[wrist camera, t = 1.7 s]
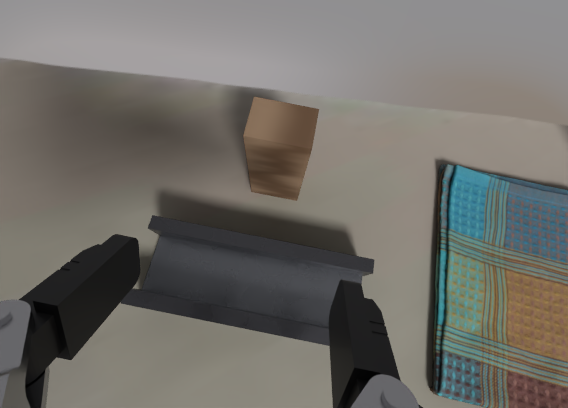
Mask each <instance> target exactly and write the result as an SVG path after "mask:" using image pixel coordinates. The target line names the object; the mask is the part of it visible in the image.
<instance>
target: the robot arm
mask: <svg viewBox="0 0 568 408" xmlns="http://www.w3.org/2000/svg"><path fill="white" fill-rule="evenodd" d="M139 275H140V258H139V244H138V240H137V239H136V238H133V237H128V236H123V235H118V234H115V235H113V236H111V237H110V238H109V239H108V240H107V241H105V242H104V243H103V244H102V245H99V244H97V245H95V246H93V247H90V248H88V249H86V250H83V251H82V252H80V253H79V254H78V255H77V256H75V257H74V258H73V259H71V261H70V262H67V263H66V264H65V265H64V266H62V267H61V269H60V270H57V271H56V272H54V273H53V274H52V275H51V276H49V277H48V278H47V279H45V280H44V281H43V282H41V283H40V284H39V285H38V286H36V287H35V288H34V289H32V290H31V291H30V292H28V293H27V294H26V295H25V296H23V297H22V298H21V299H19V300H6V301H1V302H0V408H46V402H47V392H48V382H49V372H50V371H49V365H50V364H51V362H52V361H53V360H54V359H55V358H56V357H58V358H63V359H68V360H72V359H73V357H74V356H75V355H76V354H77V353H78V351H79V350H80V349H81V348H82V347H83V346H84V344H85V343H86V342H87V341H88V340H89V338H90V337H91V336H92V335H93V334H94V333H95V331H96V330H97V329H98V328H99V327H100V325H101V324H102V323H103V322H104V321H105V320H106V318H107V317H108V316H109V315H110V314H111V312H112V311H113V310H114V309H115V308H116V307H117V305H118V304H119V303H120V302H121V301H122V299H123V298H124V297H125V296H126V295H127V294H128V292H129V291H130V290H131V289H132V288H133V286H134V285H135V284H136V282H137V280H138V278H139ZM384 324H385V323H384V320H383V316H382V312H381V310H380V309H379V308H378V306H377V305H376V303H375V302H374V301H373V300H372V299H367V298H364V295H363V290H362V286H361V284H360V283H357V282H352V281H347V280H342V279H341V280H340V281H339V284H338V287H337V290H336V293H335V296H334V299H333V302H332V305H331V309H330V314H329V342H330V360H331V378H332V397H333V408H423V407H421V406H420V405H419V404H418V403H417V400H416V398H415V397H414V395H413V393H412V392H411V391H410V390H409V388H408V387H407V386H406V385H404V384H403V383H402V382H401V380H400V377H399V374H398V370H397V366H396V363H395V359H394V356H393V352H392V348H391V345H390V341H389V338H388V337H387V335H388V334H387V330H386V327H385V326H384Z"/></svg>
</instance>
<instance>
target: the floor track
mask: <svg viewBox="0 0 568 408" xmlns="http://www.w3.org/2000/svg"><path fill="white" fill-rule="evenodd" d="M148 229H150V230H152V231H153V232H155V233H157V234H158V235H160V238H159V241H158V243H157V246H156V249H155V252H154V255H153V258H152V261H151V264H150V267H149V270H148V273H147V275H146V278H145V281H144V284H143V287H142V289H131V290H130V291H129V292H128V294H127V295H126V296H125V297H124V298H123V299H122V301H121V303H122V304H127V305H132V306H136V307H141V308H146V309H151V310H156V311H161V312H166V313H171V314H176V315H181V316H186V317H191V318H195V319H200V320H205V321H210V322H215V323H220V324H225V325H230V326H235V327H240V328H245V329H249V330H254V331H259V332H264V333H269V334H274V335H279V336H284V337H289V338H294V339H299V340H304V341H308V342H313V343H318V344H323V345H328V346H330V342H329V314H330V309H331V305H332V302H333V299H334V296H335V293H336V290H337V287H338V284H339V281H340V280H341V279H342V280H347V281H352V282H357V283H360V284H361V283H362V276H365V275H369V274H372V273H373V268H374V259H369V258H364V257H359V256H354V255H349V254H344V253H339V252H334V251H329V250H324V249H319V248H314V247H309V246H304V245H299V244H294V243H289V242H284V241H279V240H274V239H269V238H264V237H259V236H253V235H248V234H243V233H238V232H233V231H228V230H223V229H218V228H213V227H208V226H203V225H198V224H193V223H188V222H183V221H178V220H173V219H168V218H163V217H158V216H153V215H152V218H151V221H150V224H149V226H148Z"/></svg>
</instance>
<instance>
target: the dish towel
mask: <svg viewBox="0 0 568 408" xmlns="http://www.w3.org/2000/svg"><path fill="white" fill-rule="evenodd" d="M435 290H436V302H435V323H434V360H433V386H432V387H431V388H430V390H431V391H432V392H433V393H434V394H436V395H438V396H443V397H446V398H449V399H453V400H458V401H462V402H466V403H470V404H474V405H479V406H482V407H485V408H568V190H564V189H559V188H554V187H550V186H545V185H540V184H536V183H532V182H527V181H523V180H519V179H514V178H508V177H503V176H498V175H494V174H489V173H485V172H479V171H475V170H471V169H468V168H464V167H462V166H459V165H456V166H452V165H449V164H447V165H444V164H443V165H441V166H440V169H439V176H438V236H437V258H436V278H435Z"/></svg>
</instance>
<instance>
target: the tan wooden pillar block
mask: <svg viewBox="0 0 568 408" xmlns="http://www.w3.org/2000/svg"><path fill="white" fill-rule="evenodd" d="M318 112H319V109H315V108H310V107H305V106H300V105H295V104H290V103H284V102H279V101H274V100H269V99H264V98H259V97H254V99H253V102H252V106H251V109H250V113H249V117H248V120H247V124H246V128H245V131H244V135H243V138H244V144H245V151H246V158H247V164H248V171H249V178H250V184H251V191H252V192H255V193H260V194H265V195H270V196H275V197H281V198H286V199H291V200H296V201H297V199H298V195H299V192H300V188H301V185H302V181H303V178H304V175H305V171H306V168H307V164H308V161H309V157H310V154H311V150H312V145H313V140H314V134H315V129H316V123H317V118H318Z"/></svg>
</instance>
